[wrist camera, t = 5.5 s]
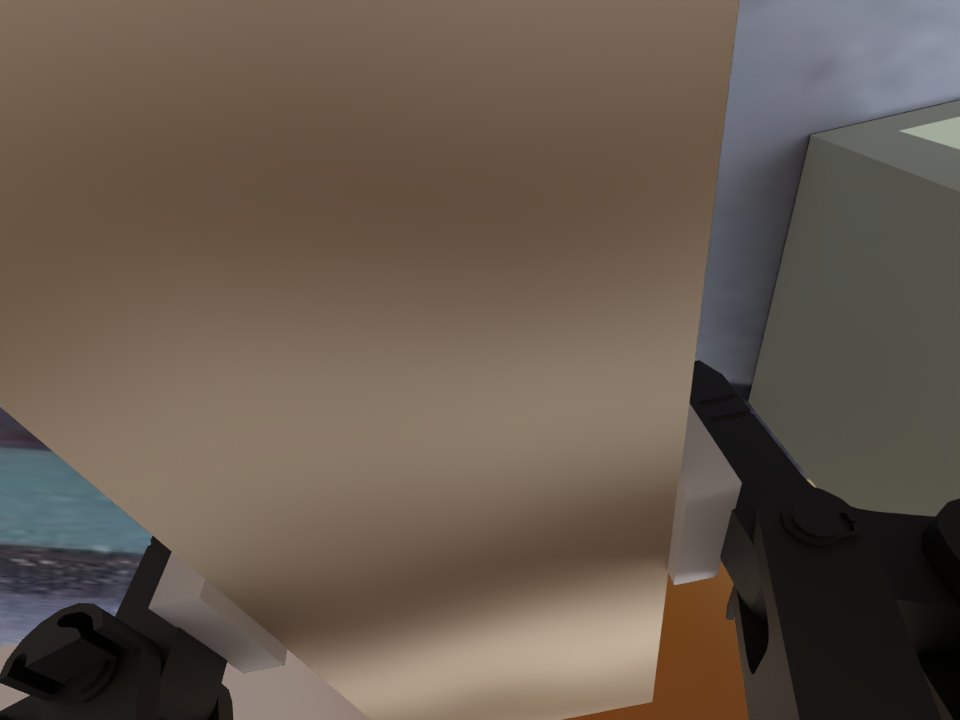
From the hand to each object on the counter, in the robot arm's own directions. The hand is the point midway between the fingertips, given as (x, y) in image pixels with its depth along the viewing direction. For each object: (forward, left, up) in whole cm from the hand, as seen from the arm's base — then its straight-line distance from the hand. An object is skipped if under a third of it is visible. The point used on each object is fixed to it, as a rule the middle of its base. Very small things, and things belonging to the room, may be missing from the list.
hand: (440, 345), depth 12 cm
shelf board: (0, 0, +4) cm, 4 cm away
